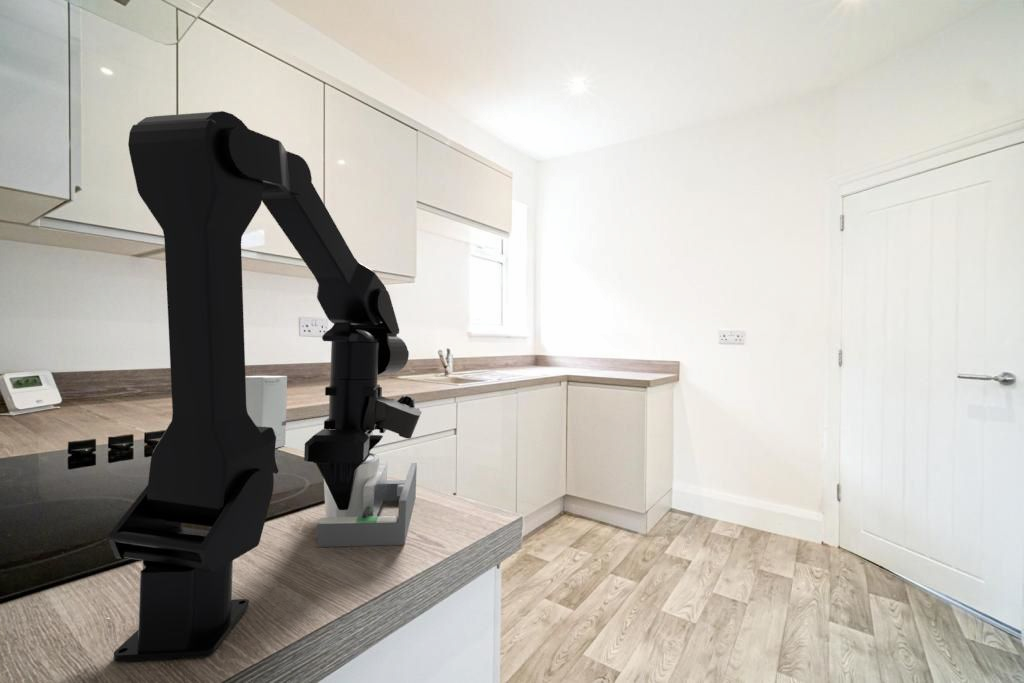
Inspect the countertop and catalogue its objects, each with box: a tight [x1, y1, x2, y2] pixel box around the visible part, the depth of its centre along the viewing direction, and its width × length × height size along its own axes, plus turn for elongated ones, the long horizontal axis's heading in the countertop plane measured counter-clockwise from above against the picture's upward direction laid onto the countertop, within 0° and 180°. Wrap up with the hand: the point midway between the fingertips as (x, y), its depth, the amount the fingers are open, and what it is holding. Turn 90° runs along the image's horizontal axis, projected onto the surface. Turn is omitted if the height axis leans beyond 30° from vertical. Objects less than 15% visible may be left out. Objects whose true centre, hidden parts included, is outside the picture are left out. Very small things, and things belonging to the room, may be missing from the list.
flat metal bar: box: [362, 461, 388, 518], centre depth 57 cm, size 13×1×4 cm, turn 8°
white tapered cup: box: [323, 452, 380, 517], centre depth 58 cm, size 7×7×7 cm
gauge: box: [316, 462, 418, 548], centre depth 58 cm, size 16×10×5 cm, turn 8°
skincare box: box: [245, 375, 288, 449], centre depth 91 cm, size 8×6×15 cm
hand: (349, 500), depth 58 cm, fingers closed on white tapered cup, 6 cm apart
